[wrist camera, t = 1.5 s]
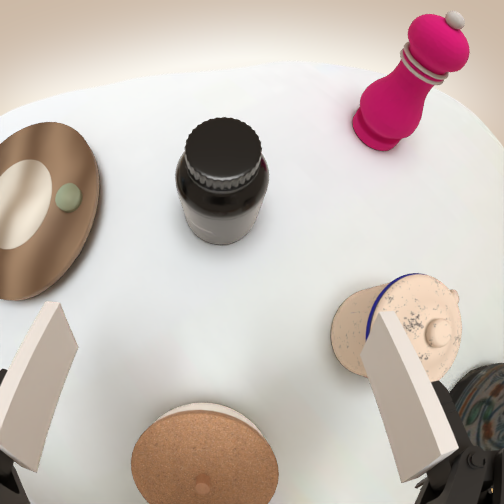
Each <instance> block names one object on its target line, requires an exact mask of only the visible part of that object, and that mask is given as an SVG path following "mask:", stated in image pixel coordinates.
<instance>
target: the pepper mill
mask: <svg viewBox="0 0 504 504" xmlns="http://www.w3.org/2000/svg"><path fill="white" fill-rule="evenodd" d="M464 24H465V21H464V18H463V17H462V15H461V14H459V13H458V12H456V11H450V12H448V13H447V14H446V17H445V18H443V17H441V16H437V15H434V14H425V15H422V16H419V17H417V18H416V19H415V20H414V21H413V22H412V23H411V25H410V27H409V29H408V39H409V42H407V43H406V44H405V45H404V48H403V49H402V50H401V52H400V57H401V61H400V63H399V64H398V66H397V67H396V68H395V69H394V71H393V72H391V73H390V74H389V75H387V76H386V77H383V78H381V79H379V80H377V81H375V82H373V83H372V84H371V85H369V86H368V87H367V88H366V90H365V91H364V92H363V94H362V96H361V99H360V107H359V109H358V110H357V112H356V114H355V115H354V117H353V128H354V130H355V133H356V134H357V136H358V137H359V138H360V139H361V140H362V141H363V143H365V144H366V145H368V146H369V147H371V148H373V149H375V150H380V151H387V150H390V149H392V148H394V146H395V145H396V144H397V143H398V142H399V141H400V140H401V139H402V138H406V137H408V136H410V135H411V134H412V133H413V132H414V131H415V129H416V128H417V126H418V124H419V122H420V120H421V116H422V111H423V106H424V101H425V98H426V96H427V94H428V92H429V91H430V89H431V88H432V87H433V86H434V85H440V84H442V83H443V81H444V79H446V78H447V77H448V72H455V71H458V70H460V69H461V68H462V67H463V66H464V65H465V64H466V62H467V60H468V57H469V45H468V42H467V39H466V38H465V36H464V34H463V33H462V32H461V31H460V29H462V28H463V27H464Z"/></svg>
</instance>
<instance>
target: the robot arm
mask: <svg viewBox="0 0 504 504" xmlns="http://www.w3.org/2000/svg"><path fill="white" fill-rule="evenodd" d="M77 350H78V345H77V343H76V340H75V338H74V336H73V333H72V331H71V329H70V326H69V324H68V322H67V319H66V317H65V314H64V312H63V309H62V307H61V304H60V303H59V302H50V301H46V302H45V303H44V305H43V307H42V308H41V310H40V312H39V313H38V315H37V317H36V318H35V320H34V322H33V324H32V325H31V327H30V329H29V331H28V332H27V334H26V336H25V338H24V340H23V342H22V343H21V345H20V347H19V349H18V351H17V353H16V355H15V357H14V359H13V361H12V363H11V365H10V367H9V369H8V370H6V369H2V370H1V371H0V504H30V502H29V500H28V498H27V496H26V493H25V491H24V489H23V486H22V484H21V482H20V479H19V477H18V474H17V471H16V469H15V468H14V466H13V462H14V461H15V462H16V463H17V464H19V465H20V466H21V467H24V468H26V469H28V470H31V471H33V472H36V473H37V470H38V466H39V462H40V459H41V455H42V451H43V448H44V444H45V440H46V437H47V434H48V430H49V427H50V424H51V421H52V418H53V415H54V412H55V409H56V406H57V403H58V400H59V397H60V394H61V391H62V388H63V386H64V383H65V380H66V378H67V375H68V372H69V370H70V367H71V365H72V362H73V360H74V357H75V355H76V352H77ZM360 357H361V359H362V362H363V365H364V368H365V370H366V373H367V376H368V379H369V382H370V384H371V387H372V390H373V393H374V396H375V399H376V402H377V405H378V408H379V411H380V414H381V417H382V420H383V423H384V426H385V429H386V433H387V436H388V439H389V442H390V445H391V449H392V452H393V455H394V459H395V462H396V466H397V469H398V472H399V476H400V480H401V483H404V482H407V481H410V480H413V479H416V478H418V477H420V476H421V475H423V474H424V473H427V476H428V477H426V478H425V479H423V480H422V481H420V482H419V483H417V485H416V486H415V488H418V487H420V486H422V485H423V486H422V488H421V489H420V490H421V491H420V493H419V495H418V497H417V500H416V502H415V504H504V448H503V449H502V450H494V451H484V450H483V449H482V448H480V447H479V446H474V445H473V444H472V443H471V441H470V439H469V437H468V434H467V432H466V430H465V427H464V425H463V423H462V420H461V418H460V416H459V414H458V411H456V407H455V405H454V403H453V402H452V398H451V396H450V394H449V392H448V390H447V389H446V388H445V386H444V385H443V384H442V383H441V382H440V381H439V380H438V381H433V382H430V380H429V378H428V376H427V373H426V371H425V369H424V367H423V365H422V363H421V361H420V359H419V357H418V355H417V353H416V351H415V349H414V347H413V345H412V343H411V341H410V339H409V338H408V336H407V334H406V332H405V330H404V328H403V326H402V324H401V322H400V321H399V319H398V317H397V315H396V313H395V311H383V312H379V313H378V315H377V317H376V320H375V322H374V325H373V327H372V329H371V331H370V334H369V336H368V338H367V340H366V343H365V345H364V347H363V349H362V351H361V354H360ZM491 487H493V493H492V491H491Z"/></svg>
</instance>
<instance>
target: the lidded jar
mask: <svg viewBox="0 0 504 504" xmlns="http://www.w3.org/2000/svg"><path fill="white" fill-rule="evenodd" d="M131 471H132V475H133V479H134V481H135V484H136V486H137V488H138V490H139V491H140V493H141V494H142V496H143V497H144V498H145V499H146V500H147V501H148V503H149V504H268V502H269V501H270V500H271V498H272V496H273V495H274V493H275V490H276V487H277V484H278V476H279V473H278V465H277V461H276V458H275V455H274V453H273V451H272V449H271V447H270V445H269V444H268V443H267V441H266V439H265V438H264V436H263V435H262V433H261V432H260V430H259V429H258V428H257V427H256V426H255V425H254V424H253V423H252V422H251V421H250V420H249V419H248V418H246V417H245V416H244V415H242V414H241V413H239V412H237V411H235V410H233V409H231V408H228V407H226V406H223V405H219V404H214V403H192V404H186V405H183V406H180V407H177V408H174V409H172V410H170V411H168V412H167V413H165V414H164V415H162V416H161V417H160V418H158V419H157V420H156V421H155V422H154V423H153V424H152V425H151V426H149V427H148V428H147V429H146V431H145V432H144V433H143V434H142V435H141V436H140V438H139V440H138V441H137V443H136V444H135V447H134V450H133V452H132V458H131Z"/></svg>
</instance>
